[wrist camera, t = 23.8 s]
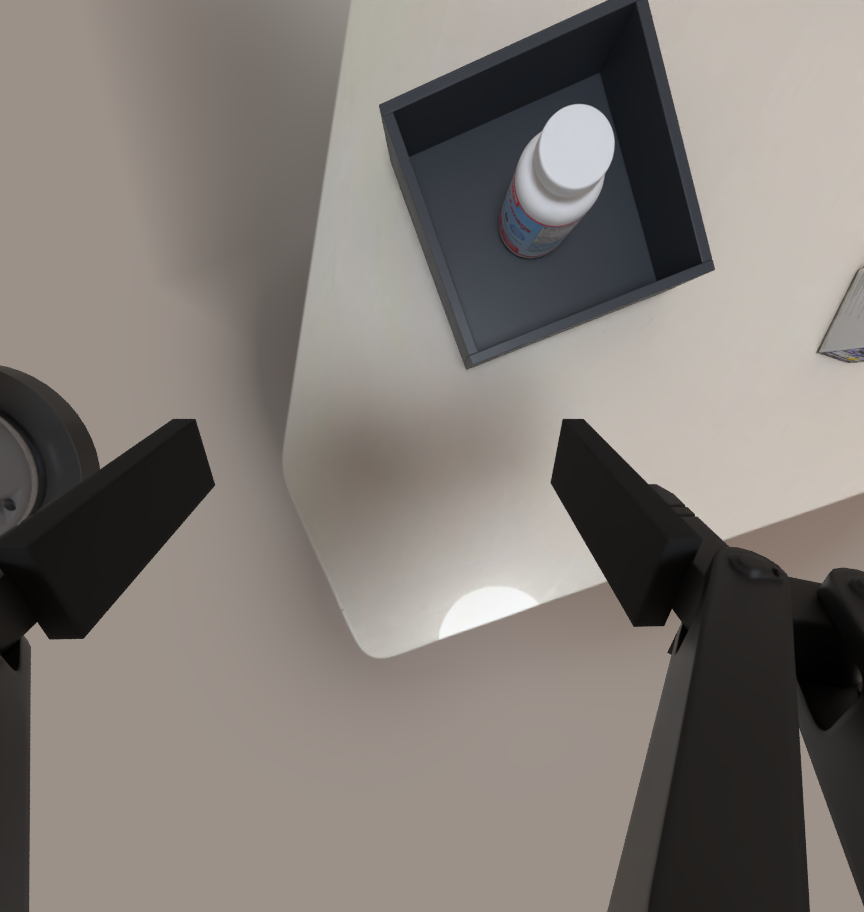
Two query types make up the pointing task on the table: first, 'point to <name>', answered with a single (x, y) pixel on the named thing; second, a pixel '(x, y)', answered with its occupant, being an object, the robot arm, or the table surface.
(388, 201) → the table surface
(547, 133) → the pill bottle
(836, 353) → the ink box
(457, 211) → the tray
